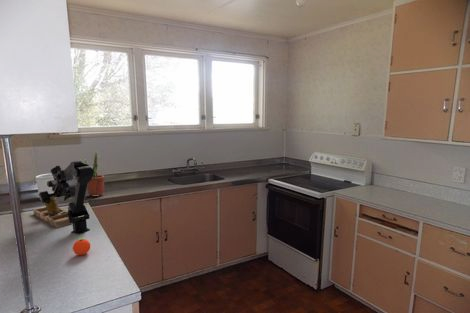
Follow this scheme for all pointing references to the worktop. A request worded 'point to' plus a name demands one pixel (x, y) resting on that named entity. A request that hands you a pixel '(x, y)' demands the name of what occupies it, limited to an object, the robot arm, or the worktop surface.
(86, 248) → the clementine
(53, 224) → the tray
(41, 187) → the utensil holder
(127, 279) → the worktop surface
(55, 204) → the condiment
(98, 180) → the potted plant
